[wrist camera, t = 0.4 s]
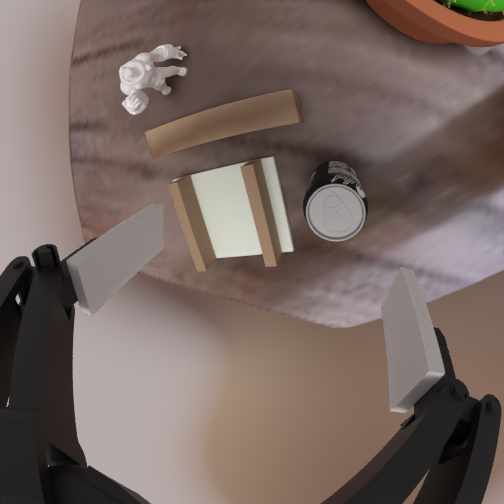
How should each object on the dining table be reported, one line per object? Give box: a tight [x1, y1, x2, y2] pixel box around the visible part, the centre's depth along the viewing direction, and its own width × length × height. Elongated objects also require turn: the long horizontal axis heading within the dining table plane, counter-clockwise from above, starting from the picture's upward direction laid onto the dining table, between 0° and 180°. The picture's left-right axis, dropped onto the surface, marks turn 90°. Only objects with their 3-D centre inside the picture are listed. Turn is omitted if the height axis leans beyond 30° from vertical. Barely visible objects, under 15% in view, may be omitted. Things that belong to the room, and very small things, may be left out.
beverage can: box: [303, 161, 368, 241], centre depth 30 cm, size 7×7×12 cm
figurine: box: [119, 44, 187, 115], centre depth 28 cm, size 10×5×12 cm, turn 177°
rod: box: [145, 89, 304, 159], centre depth 32 cm, size 4×20×6 cm, turn 103°
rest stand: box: [168, 156, 294, 271], centre depth 39 cm, size 14×16×5 cm
